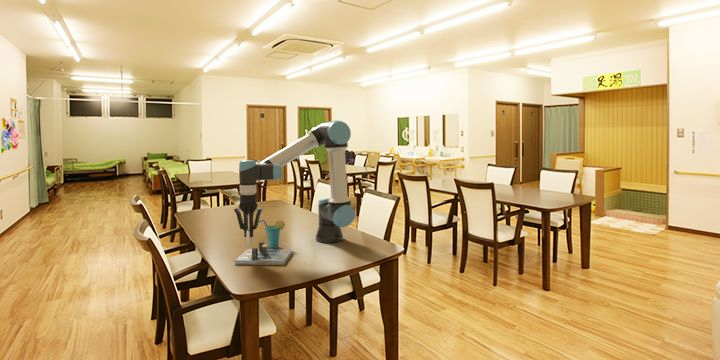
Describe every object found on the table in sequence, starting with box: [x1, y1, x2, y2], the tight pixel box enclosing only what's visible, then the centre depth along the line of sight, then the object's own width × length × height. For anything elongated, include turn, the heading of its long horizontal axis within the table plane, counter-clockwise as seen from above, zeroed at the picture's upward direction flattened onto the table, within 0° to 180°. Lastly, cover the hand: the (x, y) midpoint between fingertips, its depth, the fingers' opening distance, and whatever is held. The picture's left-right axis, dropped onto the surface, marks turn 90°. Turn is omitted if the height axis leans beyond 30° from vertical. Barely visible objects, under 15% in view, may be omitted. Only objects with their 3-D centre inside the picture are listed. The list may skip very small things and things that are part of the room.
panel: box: [234, 241, 293, 266], centre depth 186 cm, size 22×18×6 cm
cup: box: [258, 219, 286, 249], centre depth 204 cm, size 14×8×15 cm, turn 112°
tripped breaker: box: [262, 244, 269, 254], centre depth 186 cm, size 2×2×4 cm
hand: (249, 243), depth 186 cm, fingers closed
